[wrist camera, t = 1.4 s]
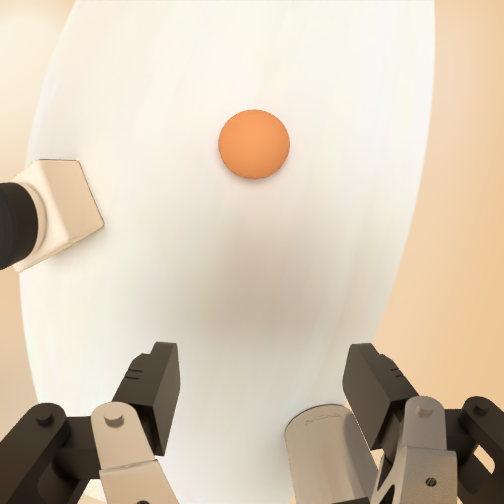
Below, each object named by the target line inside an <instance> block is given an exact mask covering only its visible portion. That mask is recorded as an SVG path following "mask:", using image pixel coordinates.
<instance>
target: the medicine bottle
mask: <svg viewBox="0 0 504 504" xmlns="http://www.w3.org/2000/svg"><path fill="white" fill-rule="evenodd" d="M103 225H104V224H103V221H102V218H101V216H100V214H99V212H98V209H97V207H96V205H95V202H94V200H93V197H92V195H91V193H90V190H89V188H88V185H87V183H86V180H85V177H84V175H83V172H82V170H81V167H80V164H79V162H78V161H76V160H54V159H37V160H35V161H34V162H32V163H31V164H30V165H29V166H28V167H26V168H25V169H24V170H23V171H22V172H20V173H19V174H18V175H17V176H16V177H14V178H13V179H12V180H11V181H10V182H8V183H0V270H2V269H5V268H7V267H9V266H11V265H13V266H14V269H15V271H16V272H17V273H19V272H22V271H24V270H26V269H28V268H30V267H31V266H33V265H35V264H37V263H39V262H41V261H43V260H45V259H47V258H49V257H51V256H53V255H55V254H57V253H59V252H60V251H62V250H64V249H65V248H67V247H69V246H70V245H72V244H74V243H76V242H77V241H79V240H81V239H82V238H84V237H86V236H88V235H89V234H91V233H93V232H95V231H97V230H98V229H100V228H102V227H103Z"/></svg>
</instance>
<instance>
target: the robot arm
mask: <svg viewBox="0 0 504 504" xmlns="http://www.w3.org/2000/svg"><path fill="white" fill-rule="evenodd" d="M343 390H344V393H345V395H346V397H347V400H348V402H349V404H350V406H351V408H352V411H353V413H354V414H353V413H352V412H351V411H350V410H349V409H347V408H345V407H343V406H338V405H324V406H319V407H315V408H312V409H309V410H307V411H305V412H303V413H301V414H300V415H298V416H297V417H296V418H294V419H293V420H292V421H291V422H290V424H289V425H288V427H287V429H286V431H285V439H286V445H287V451H288V457H289V464H290V469H291V475H292V481H293V487H294V492H295V498H296V504H457V496H458V497H459V499H460V500H461V501H462V503H463V504H504V412H503V411H501V409H499V408H498V407H497V406H496V405H495V404H494V403H493V402H492V401H490V400H489V399H486V398H484V397H479V396H474V397H470V398H468V399H467V400H466V401H465V403H464V405H463V407H462V409H444V408H443V406H442V405H441V404H440V402H438V401H437V400H435V399H433V398H431V397H427V396H419V394H418V393H417V392H416V390H415V389H414V388H413V386H412V385H411V384H410V382H409V381H408V380H407V379H406V377H405V376H403V373H402V372H401V371H400V370H399V368H398V367H397V366H396V364H395V363H394V362H393V360H391V359H389V358H388V357H386V356H385V355H383V354H379V353H378V352H377V351H376V349H375V348H374V346H373V345H372V344H371V343H363V344H352V345H351V346H350V348H349V352H348V357H347V362H346V366H345V371H344V375H343ZM179 391H180V372H179V361H178V350H177V344H176V343H167V342H156V343H155V344H154V347H153V349H152V351H151V353H150V354H143V353H142V354H140V355H139V356H138V357H136V358H135V359H134V360H133V361H132V363H131V364H130V366H129V368H128V371H127V372H126V374H125V376H124V378H123V380H122V382H121V384H120V386H119V388H118V389H117V391H116V393H115V395H114V397H113V399H112V401H111V402H108V403H105V404H102V405H100V406H98V407H97V408H96V409H95V410H94V411H93V413H92V415H91V416H86V417H67V416H66V414H65V411H64V410H63V409H62V408H61V407H60V406H59V405H56V404H53V403H41V404H38V405H36V406H33V407H32V408H31V409H29V410H28V412H27V413H26V414H25V415H24V416H23V417H22V418H21V419H20V420H19V421H18V423H17V424H16V425H15V426H14V427H13V428H12V429H11V431H10V432H9V433H8V434H7V435H6V436H5V437H4V439H3V440H2V441H1V442H0V504H77V503H78V501H79V499H80V497H81V495H82V494H83V492H84V490H85V488H86V486H87V484H88V482H89V481H90V479H101V483H102V486H103V490H104V493H105V497H106V500H107V503H108V504H179V502H178V500H177V498H176V496H175V494H174V492H173V490H172V489H171V487H170V485H169V482H168V480H167V478H166V476H165V474H164V472H163V470H162V468H161V466H160V464H159V462H158V460H157V459H155V457H154V455H157V456H164V455H165V450H166V446H167V442H168V437H169V433H170V429H171V425H172V420H173V416H174V412H175V408H176V404H177V400H178V396H179ZM354 415H355V417H356V419H357V421H358V423H357V421H356V419H355V417H354ZM358 424H359V425H358ZM359 426H360V427H359ZM360 428H361V430H362V432H363V434H362V432H361V430H360ZM363 435H364V437H365V439H366V441H367V443H368V446H369V448H370V450H376V449H381V448H382V449H383V451H384V454H383V456H382V458H381V461H380V466H379V470H378V469H377V466H376V464H375V462H374V460H373V457H372V455H371V453H370V451H369V448H368V446H367V444H366V441H365V439H364V437H363ZM478 445H480V446H481V447H482V448H483V449H484V450H485V451H486V452H487V454H488V455H489V456H490V457H491V458H492V459H493V461H494V463H495V469H494V471H493V473H492V474H491V473H490V472H489V471H488V470H487V469H486V468H485V466H484V465H483V464H482V463H481V462H480V461H479V460H478V458H477V457H476V456H475V455H474V454H473V453H474V451H475V450H476V449H477V447H478Z"/></svg>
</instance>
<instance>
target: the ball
mask: <svg viewBox="0 0 504 504" xmlns="http://www.w3.org/2000/svg"><path fill="white" fill-rule="evenodd" d="M289 146H290V142H289V136H288V133H287V130H286V128H285V126H284V125H283V124H282V122H281V121H280V120H279V119H278V118H277V117H275V116H274V115H272V114H270V113H268V112H265V111H262V110H246V111H243V112H240V113H238V114H236V115H234V116H233V117H231V118H230V119H229V120H228V121H227V122H226V124H225V125H224V127H223V128H222V130H221V133H220V136H219V152H220V155H221V158H222V160H223V162H224V163H225V164H226V166H227V167H228V168H229V169H230V170H231V171H233V172H234V173H236V174H237V175H240V176H242V177H246V178H254V179H256V178H263V177H266V176H269V175H271V174H273V173H274V172H275V171H277V170H278V169H279V168H280V167H281V166H282V165H283V163H284V162H285V160H286V158H287V156H288V153H289Z"/></svg>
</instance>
